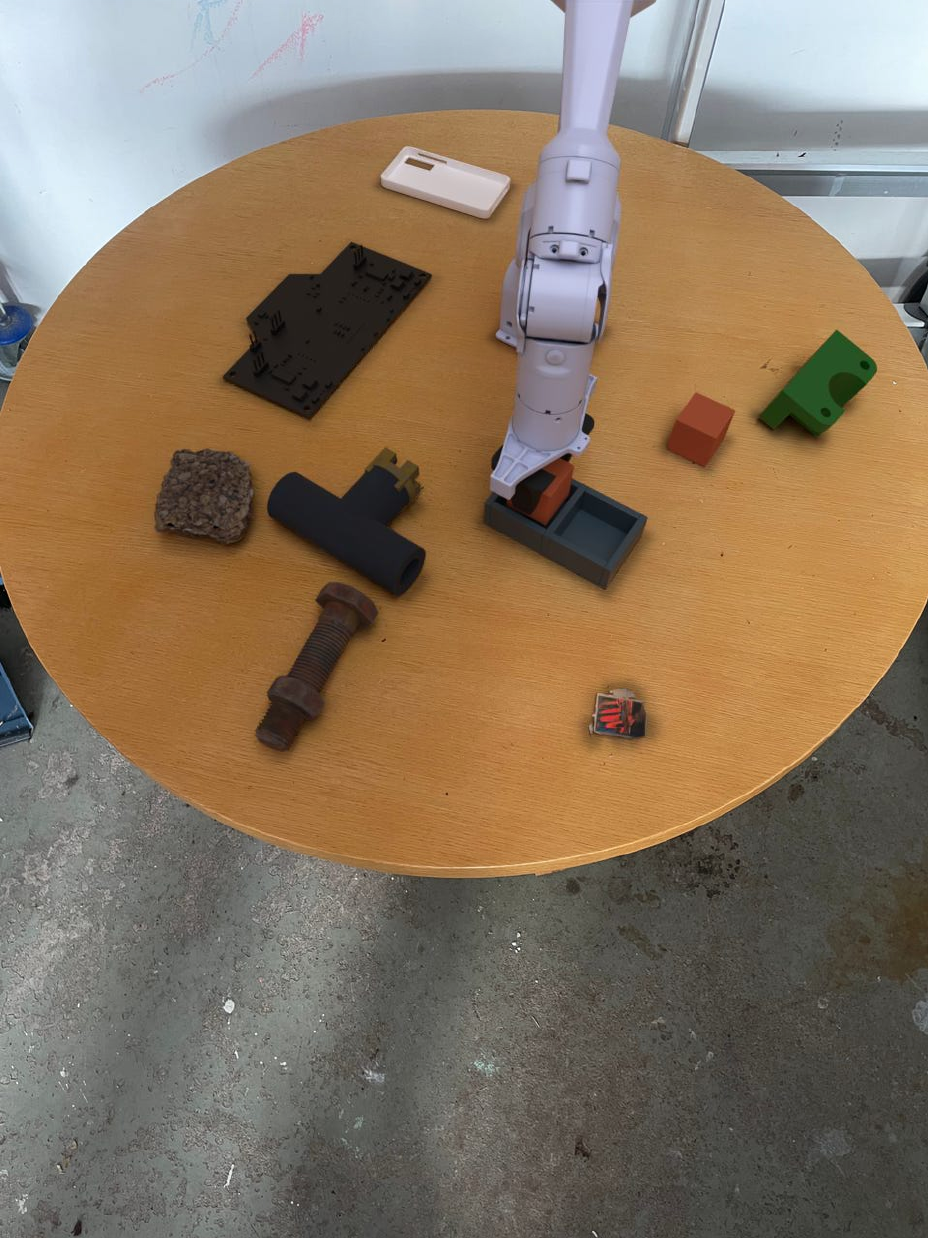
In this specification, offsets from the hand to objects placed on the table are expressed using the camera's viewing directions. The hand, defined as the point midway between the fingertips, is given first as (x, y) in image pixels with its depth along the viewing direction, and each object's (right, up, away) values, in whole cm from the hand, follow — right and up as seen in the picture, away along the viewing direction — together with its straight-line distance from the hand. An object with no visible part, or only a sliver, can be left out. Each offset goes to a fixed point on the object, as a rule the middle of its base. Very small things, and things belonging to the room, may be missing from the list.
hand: (537, 490), depth 82 cm
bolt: (-20, -18, -5) cm, 27 cm away
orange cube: (0, -1, +1) cm, 1 cm away
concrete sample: (-32, -1, +4) cm, 32 cm away
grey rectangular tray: (+3, -4, +3) cm, 5 cm away
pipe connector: (-16, -3, +3) cm, 17 cm away
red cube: (+17, +6, +8) cm, 20 cm away
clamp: (+30, +10, +10) cm, 33 cm away
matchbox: (+7, -21, -7) cm, 23 cm away
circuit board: (-23, +21, +16) cm, 35 cm away
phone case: (-9, +42, +28) cm, 52 cm away
